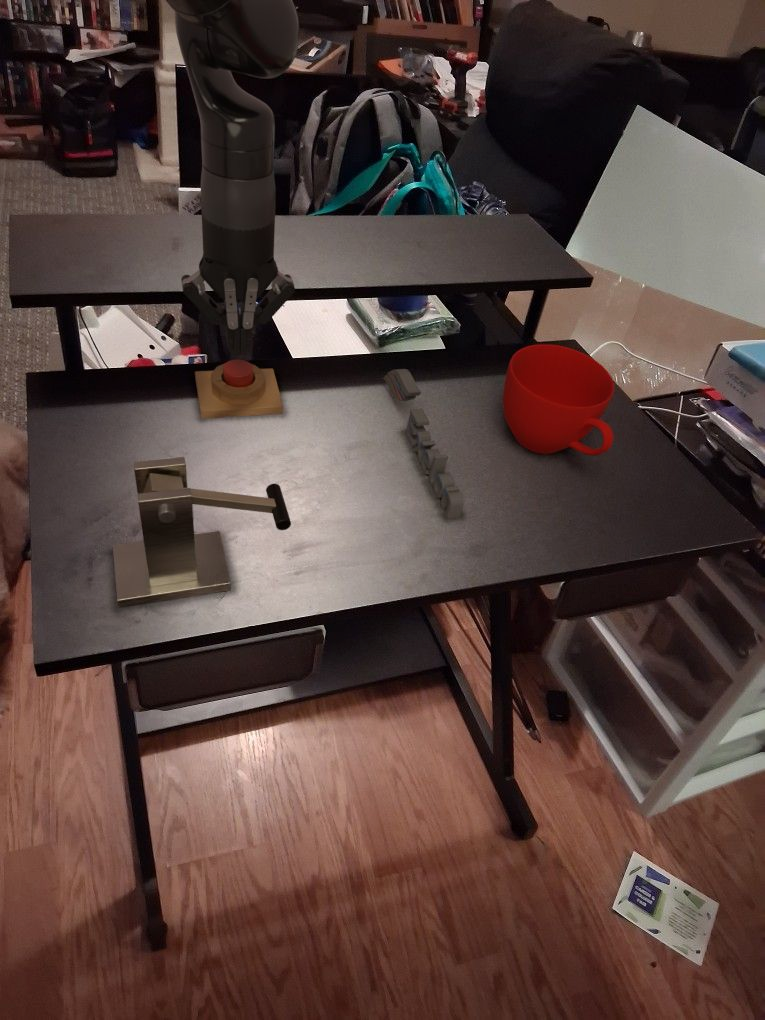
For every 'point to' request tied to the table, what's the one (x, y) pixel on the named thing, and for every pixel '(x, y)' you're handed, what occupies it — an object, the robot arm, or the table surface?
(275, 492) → the lever
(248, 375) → the button
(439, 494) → the block letters
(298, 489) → the table surface
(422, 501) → the table surface
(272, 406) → the switch block
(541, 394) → the ceramic cup
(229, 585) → the bracket
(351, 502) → the table surface
